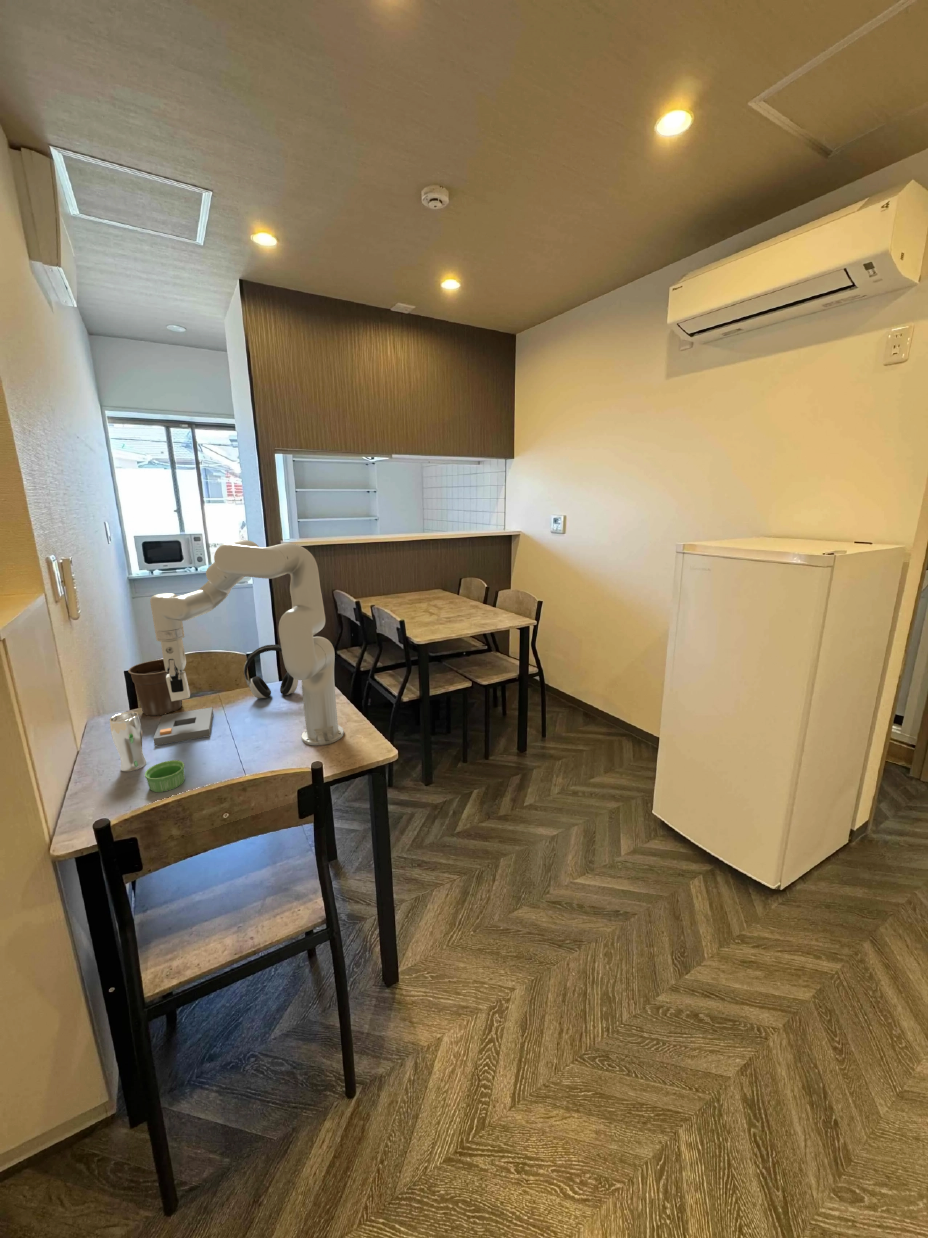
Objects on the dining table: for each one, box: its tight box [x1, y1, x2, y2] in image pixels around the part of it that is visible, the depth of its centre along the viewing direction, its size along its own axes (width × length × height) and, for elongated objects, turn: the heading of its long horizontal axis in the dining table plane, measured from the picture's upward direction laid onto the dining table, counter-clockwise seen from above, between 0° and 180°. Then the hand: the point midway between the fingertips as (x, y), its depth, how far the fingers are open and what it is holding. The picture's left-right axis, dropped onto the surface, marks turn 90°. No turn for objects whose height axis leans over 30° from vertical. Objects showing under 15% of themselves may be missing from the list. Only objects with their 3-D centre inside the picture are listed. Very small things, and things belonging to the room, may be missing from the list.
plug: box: [166, 669, 191, 701], centre depth 158 cm, size 4×5×10 cm
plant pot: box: [127, 658, 183, 717], centre depth 175 cm, size 16×16×16 cm
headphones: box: [243, 644, 299, 699], centre depth 184 cm, size 19×8×20 cm, turn 112°
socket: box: [153, 706, 214, 746], centre depth 161 cm, size 18×15×3 cm
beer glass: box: [109, 711, 147, 773], centre depth 138 cm, size 7×7×15 cm
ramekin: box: [144, 759, 186, 793], centre depth 130 cm, size 9×9×4 cm
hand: (178, 688), depth 158 cm, fingers closed on plug, 3 cm apart
